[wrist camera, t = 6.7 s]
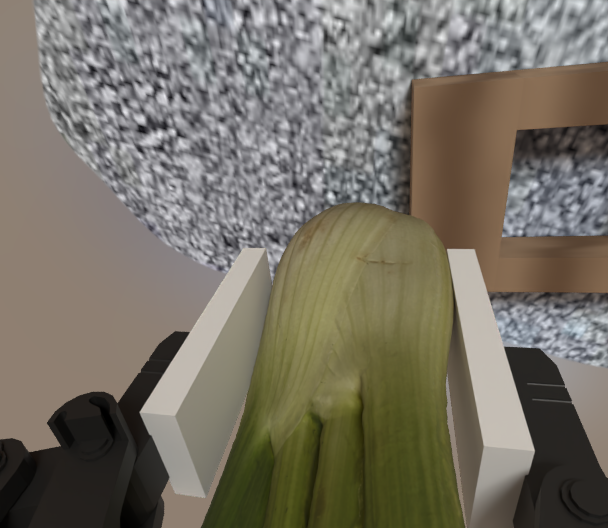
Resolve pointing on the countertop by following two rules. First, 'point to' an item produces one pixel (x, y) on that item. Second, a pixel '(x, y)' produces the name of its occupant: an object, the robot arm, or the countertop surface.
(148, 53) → the countertop surface
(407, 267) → the fennel bulb
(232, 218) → the countertop surface
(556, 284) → the jig block
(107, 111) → the countertop surface
